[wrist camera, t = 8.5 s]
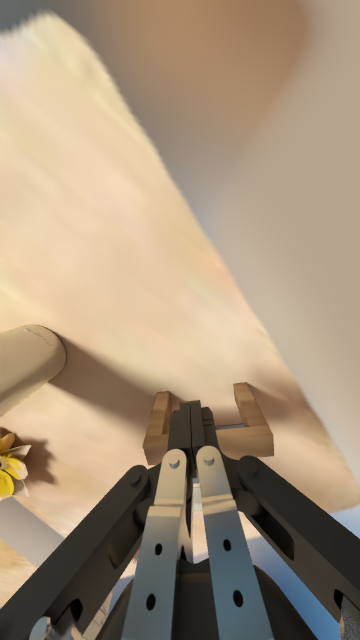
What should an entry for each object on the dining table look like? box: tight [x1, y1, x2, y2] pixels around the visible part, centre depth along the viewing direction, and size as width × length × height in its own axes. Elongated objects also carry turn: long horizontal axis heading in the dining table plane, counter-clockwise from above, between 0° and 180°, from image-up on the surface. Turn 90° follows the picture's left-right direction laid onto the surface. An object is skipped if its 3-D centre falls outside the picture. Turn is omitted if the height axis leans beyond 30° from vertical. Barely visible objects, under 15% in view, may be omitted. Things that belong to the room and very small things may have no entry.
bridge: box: [143, 382, 274, 465], centre depth 24 cm, size 3×14×9 cm, turn 100°
